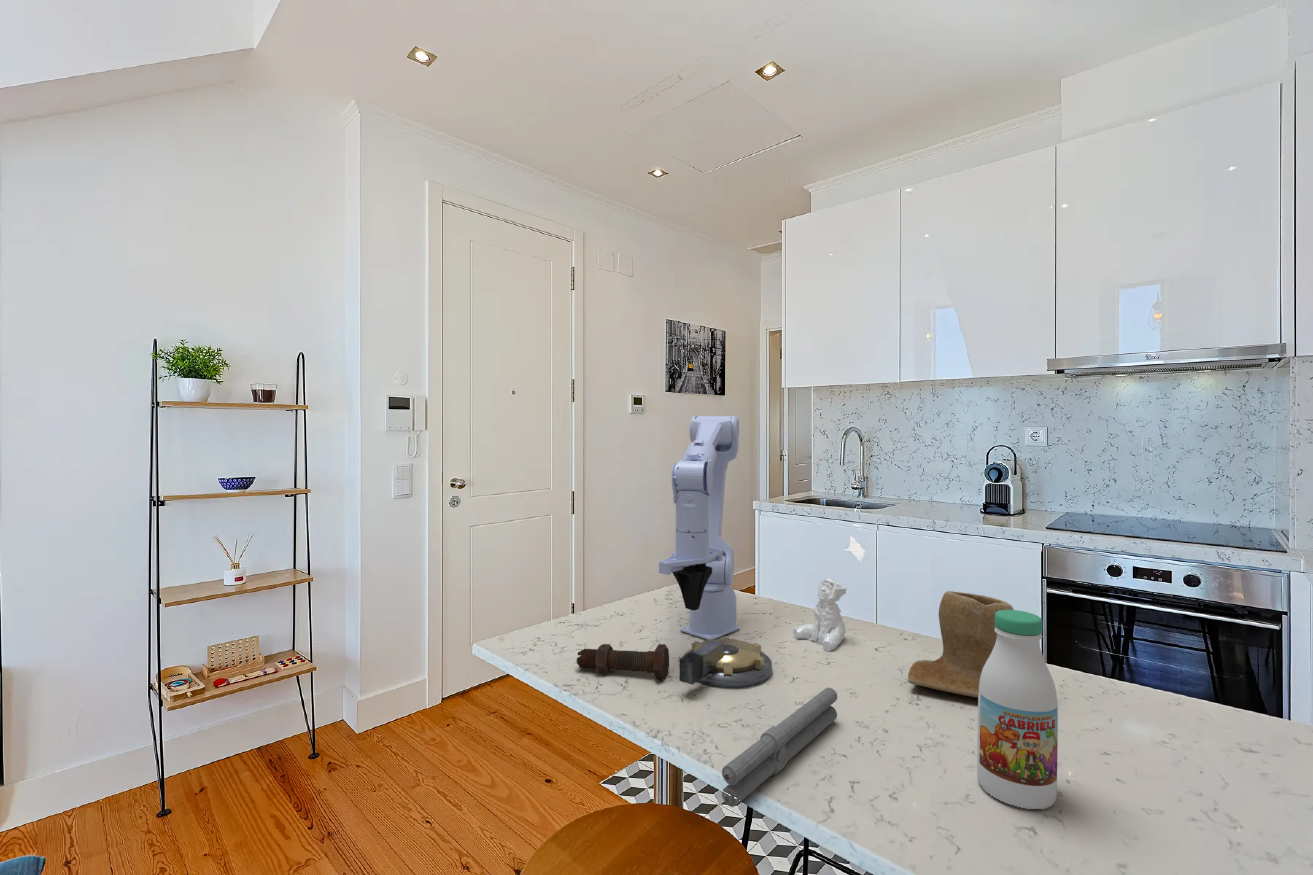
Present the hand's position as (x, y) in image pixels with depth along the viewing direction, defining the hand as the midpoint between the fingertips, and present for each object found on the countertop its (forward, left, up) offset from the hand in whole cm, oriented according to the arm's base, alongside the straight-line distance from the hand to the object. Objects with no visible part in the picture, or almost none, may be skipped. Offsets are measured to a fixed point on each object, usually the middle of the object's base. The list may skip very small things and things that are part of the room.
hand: (692, 608), depth 104 cm
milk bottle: (+2, +50, -10) cm, 51 cm away
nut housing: (-2, +6, -9) cm, 11 cm away
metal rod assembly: (+15, +28, -10) cm, 33 cm away
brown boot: (-22, +37, -10) cm, 44 cm away
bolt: (+11, -6, -10) cm, 16 cm away
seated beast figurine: (-26, +11, -10) cm, 30 cm away
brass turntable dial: (+1, +7, -8) cm, 10 cm away
